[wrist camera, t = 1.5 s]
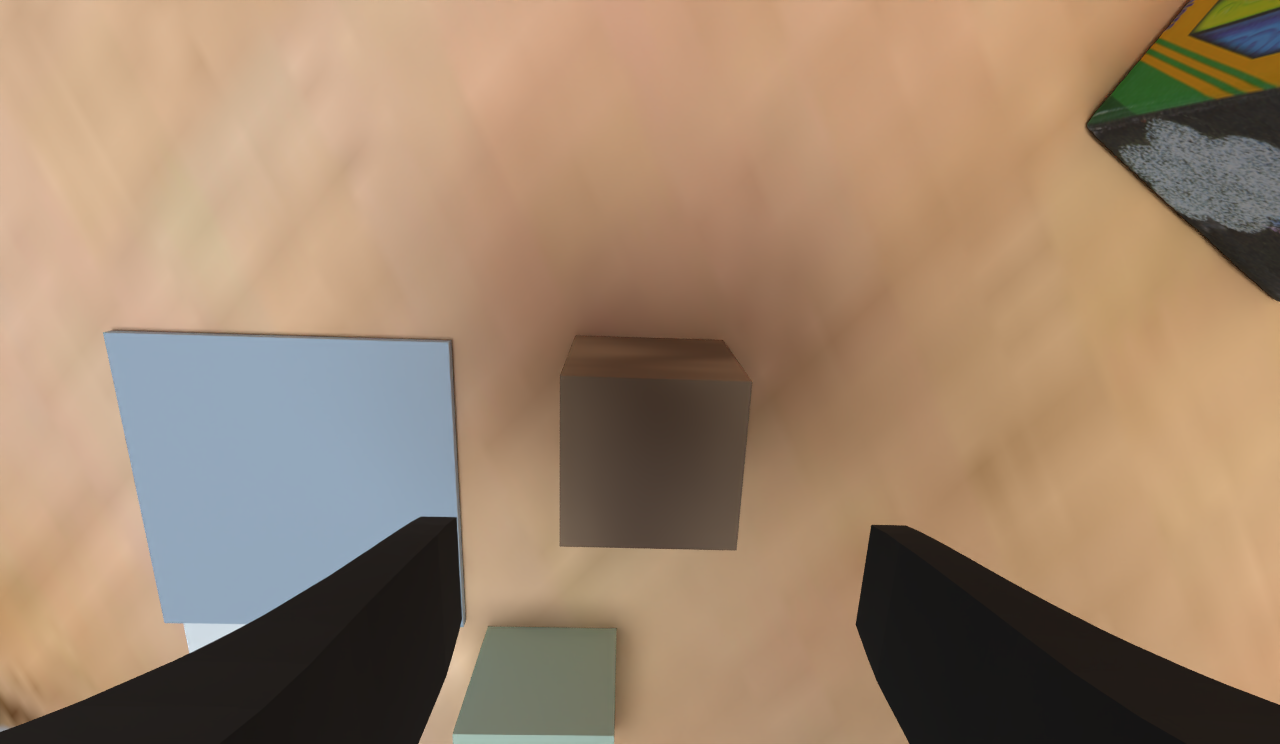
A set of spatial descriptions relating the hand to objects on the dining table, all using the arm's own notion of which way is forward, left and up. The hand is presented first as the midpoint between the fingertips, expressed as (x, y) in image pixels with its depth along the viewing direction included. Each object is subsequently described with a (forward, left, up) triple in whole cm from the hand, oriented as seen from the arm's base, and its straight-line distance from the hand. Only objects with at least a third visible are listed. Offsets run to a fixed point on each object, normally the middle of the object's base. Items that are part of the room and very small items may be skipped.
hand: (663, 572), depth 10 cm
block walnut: (0, 0, -9) cm, 9 cm away
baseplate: (+11, +3, -9) cm, 14 cm away
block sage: (+3, +11, -9) cm, 14 cm away
